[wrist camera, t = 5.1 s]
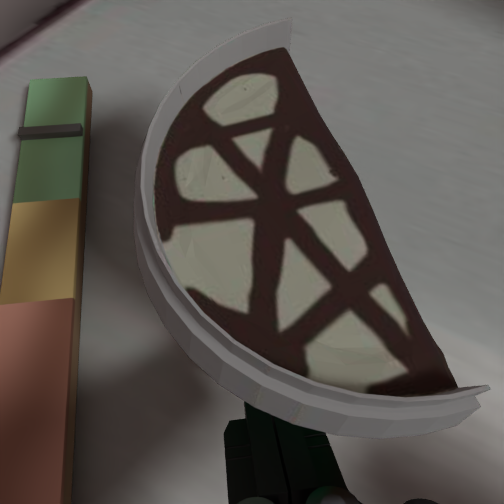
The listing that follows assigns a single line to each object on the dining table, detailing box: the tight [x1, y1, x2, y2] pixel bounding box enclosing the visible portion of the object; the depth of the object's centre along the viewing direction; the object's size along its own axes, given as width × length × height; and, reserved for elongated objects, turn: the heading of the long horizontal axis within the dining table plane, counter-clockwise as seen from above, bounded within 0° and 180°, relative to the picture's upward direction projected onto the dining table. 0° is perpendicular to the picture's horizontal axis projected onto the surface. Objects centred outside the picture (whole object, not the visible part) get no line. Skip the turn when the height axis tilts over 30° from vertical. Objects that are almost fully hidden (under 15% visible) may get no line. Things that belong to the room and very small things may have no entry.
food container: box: [134, 18, 490, 439], centre depth 15 cm, size 12×6×10 cm, turn 18°
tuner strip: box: [0, 76, 92, 504], centre depth 19 cm, size 3×24×2 cm, turn 7°
